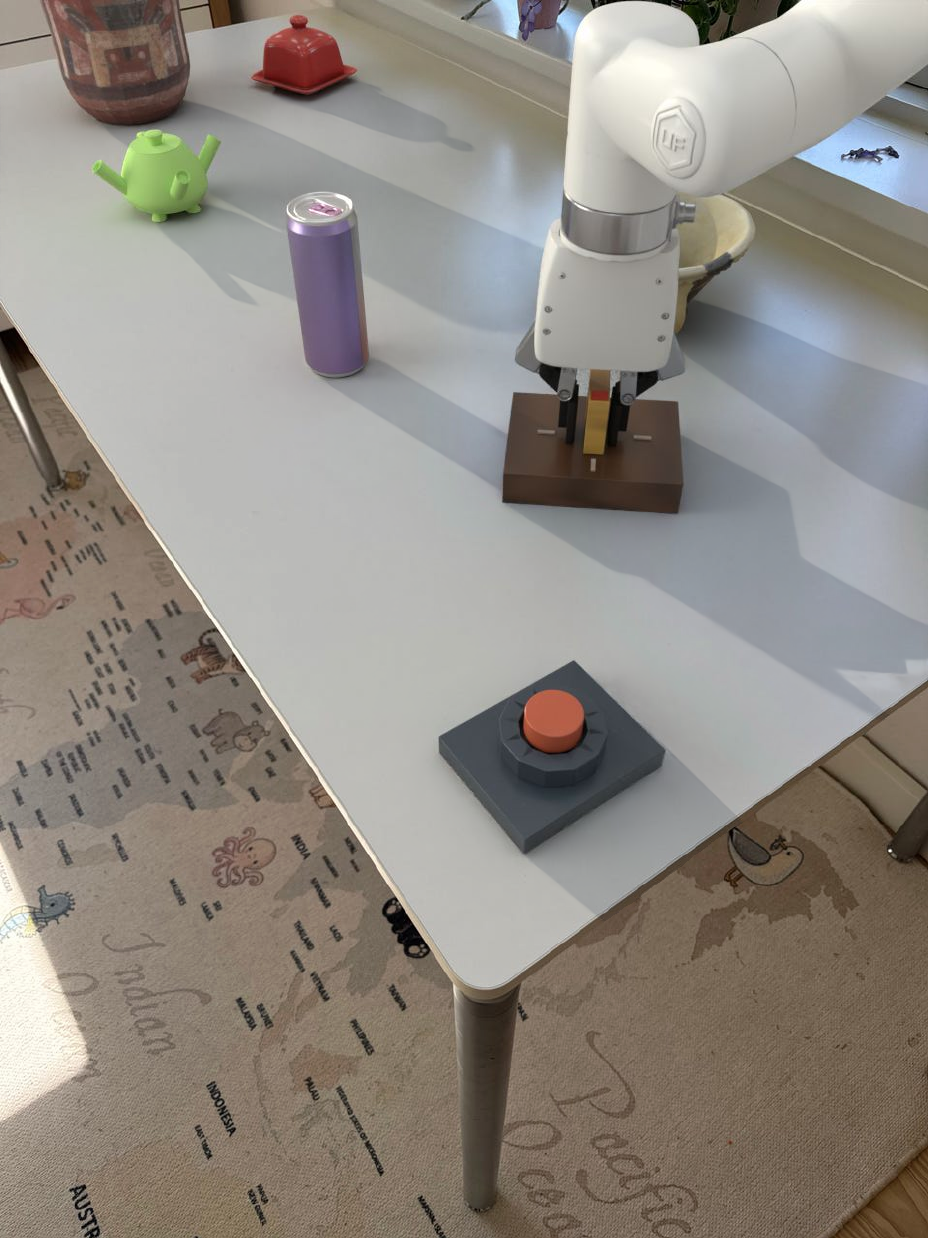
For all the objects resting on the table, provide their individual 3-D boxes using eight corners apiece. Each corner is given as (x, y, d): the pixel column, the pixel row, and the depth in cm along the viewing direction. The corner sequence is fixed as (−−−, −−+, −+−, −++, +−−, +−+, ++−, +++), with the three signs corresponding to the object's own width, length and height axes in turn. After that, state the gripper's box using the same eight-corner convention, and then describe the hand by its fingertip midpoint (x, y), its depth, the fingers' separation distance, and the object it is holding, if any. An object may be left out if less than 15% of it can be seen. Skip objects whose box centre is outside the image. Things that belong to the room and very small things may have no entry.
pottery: (228, 104, 137) (202, -50, 124) (121, 145, 128) (80, -16, 115) (149, 73, 145) (117, -74, 132) (43, 110, 136) (-3, -45, 123)
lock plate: (673, 429, 87) (678, 399, 85) (677, 513, 80) (684, 482, 77) (512, 420, 88) (513, 390, 86) (502, 502, 81) (503, 471, 79)
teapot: (146, 181, 121) (129, 107, 115) (235, 190, 119) (222, 116, 113) (103, 224, 114) (82, 147, 107) (197, 234, 112) (181, 157, 106)
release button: (557, 697, 63) (559, 680, 62) (594, 735, 61) (596, 718, 60) (511, 724, 62) (512, 706, 61) (547, 763, 60) (549, 746, 59)
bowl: (550, 267, 106) (555, 177, 99) (719, 266, 106) (737, 175, 99) (562, 360, 94) (570, 265, 87) (754, 359, 95) (776, 263, 88)
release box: (572, 675, 69) (576, 641, 66) (662, 765, 64) (670, 732, 61) (438, 752, 64) (437, 719, 62) (523, 855, 59) (526, 823, 57)
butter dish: (301, 62, 148) (294, -4, 142) (362, 78, 143) (357, 11, 137) (247, 86, 141) (237, 19, 135) (309, 104, 137) (301, 35, 131)
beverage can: (344, 387, 92) (326, 229, 81) (293, 367, 94) (269, 211, 83) (382, 356, 95) (370, 200, 84) (331, 338, 97) (313, 184, 86)
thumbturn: (585, 416, 84) (590, 361, 80) (604, 417, 83) (610, 362, 80) (583, 453, 80) (588, 398, 76) (603, 454, 80) (610, 399, 76)
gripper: (733, 196, 70) (689, 413, 84) (501, 185, 71) (495, 401, 85) (742, 248, 65) (693, 470, 79) (492, 235, 66) (487, 456, 80)
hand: (591, 432), depth 82 cm, fingers closed
